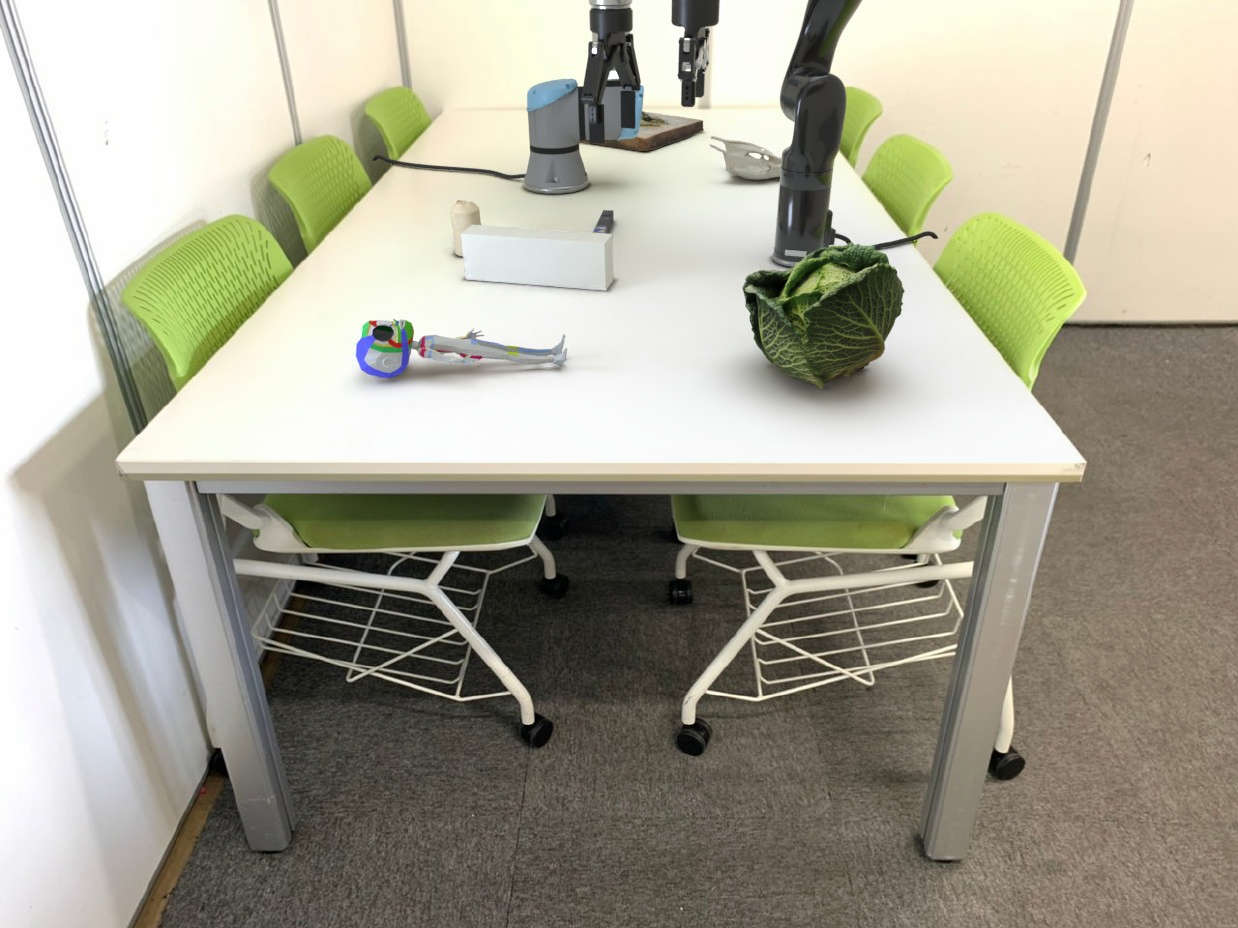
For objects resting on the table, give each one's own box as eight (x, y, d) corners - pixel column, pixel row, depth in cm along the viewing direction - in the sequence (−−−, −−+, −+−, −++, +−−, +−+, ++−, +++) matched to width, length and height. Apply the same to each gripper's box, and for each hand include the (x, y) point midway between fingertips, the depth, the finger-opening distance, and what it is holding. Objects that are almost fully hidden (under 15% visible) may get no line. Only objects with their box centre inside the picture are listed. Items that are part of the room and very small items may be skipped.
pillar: (613, 210, 190) (600, 241, 173) (613, 220, 191) (600, 251, 174) (603, 210, 190) (589, 240, 173) (603, 220, 191) (589, 251, 174)
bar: (465, 279, 163) (460, 233, 158) (476, 269, 167) (472, 224, 163) (605, 291, 157) (604, 243, 153) (613, 280, 162) (612, 233, 157)
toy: (569, 347, 126) (349, 329, 122) (563, 400, 131) (350, 385, 126) (565, 318, 135) (359, 301, 130) (559, 369, 139) (360, 354, 134)
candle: (488, 249, 176) (483, 198, 171) (475, 258, 172) (470, 206, 167) (463, 246, 178) (457, 196, 173) (450, 255, 174) (443, 204, 168)
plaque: (647, 125, 237) (559, 112, 252) (647, 153, 241) (560, 139, 256) (706, 107, 258) (622, 97, 273) (705, 133, 262) (622, 121, 277)
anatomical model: (711, 132, 222) (813, 131, 218) (711, 170, 227) (811, 169, 223) (707, 147, 210) (815, 146, 206) (707, 186, 215) (813, 186, 211)
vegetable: (774, 398, 137) (714, 287, 129) (876, 327, 138) (822, 213, 130) (838, 431, 119) (772, 304, 111) (955, 349, 120) (897, 218, 112)
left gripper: (599, 14, 144) (602, 151, 155) (658, 1, 163) (657, 123, 174) (557, 13, 146) (563, 147, 157) (621, 0, 165) (622, 121, 177)
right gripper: (712, -4, 133) (708, 111, 142) (726, -13, 145) (721, 94, 153) (662, -5, 135) (661, 109, 143) (680, -13, 146) (678, 93, 155)
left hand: (613, 135), depth 166 cm, fingers open, 13 cm apart
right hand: (692, 101), depth 148 cm, fingers open, 8 cm apart
